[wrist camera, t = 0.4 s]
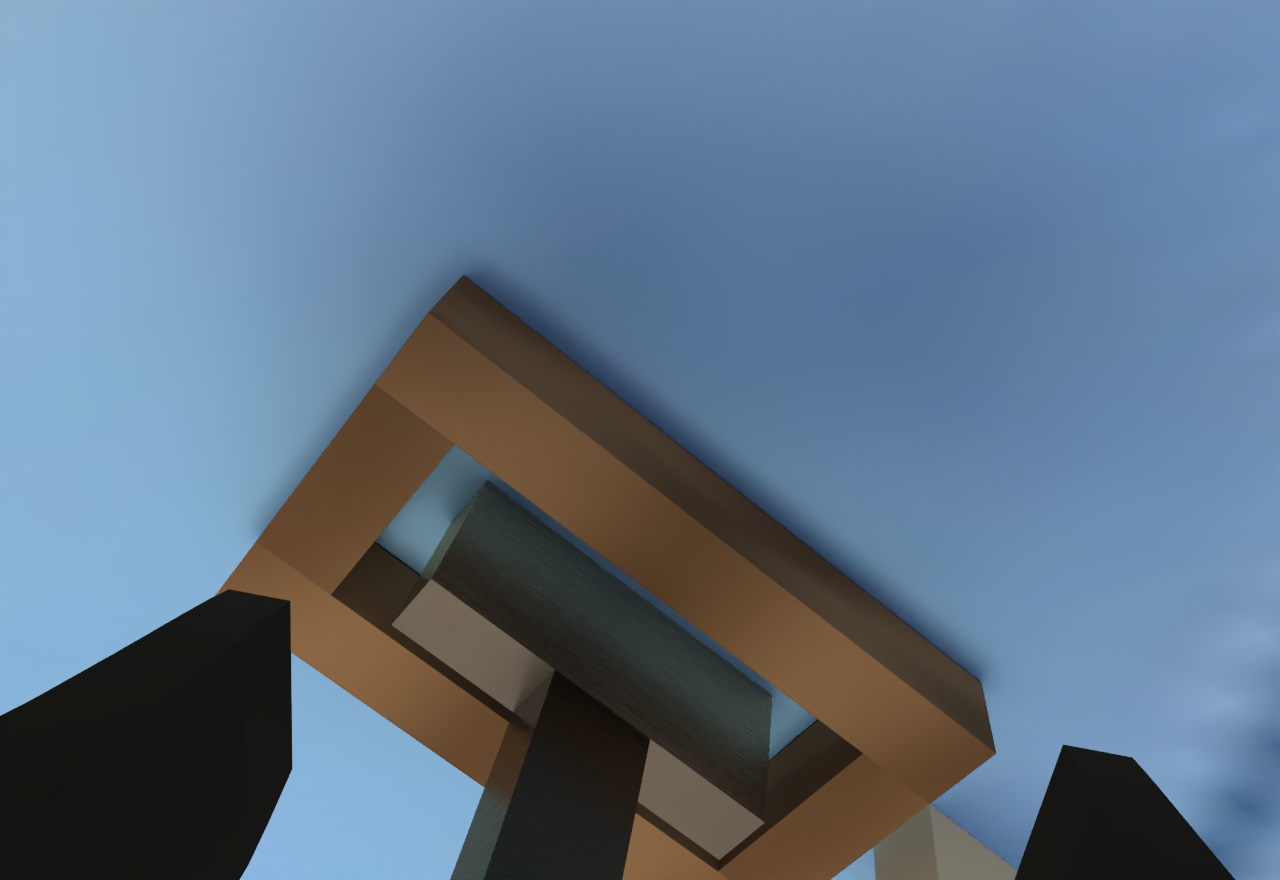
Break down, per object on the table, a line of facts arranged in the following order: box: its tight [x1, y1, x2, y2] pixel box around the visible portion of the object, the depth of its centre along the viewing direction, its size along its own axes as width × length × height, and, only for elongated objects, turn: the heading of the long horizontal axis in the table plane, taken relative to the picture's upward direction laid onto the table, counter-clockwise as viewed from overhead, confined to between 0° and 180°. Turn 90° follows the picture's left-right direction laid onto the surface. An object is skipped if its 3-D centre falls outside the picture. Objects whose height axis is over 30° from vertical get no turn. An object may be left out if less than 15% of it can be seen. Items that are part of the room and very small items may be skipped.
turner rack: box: [215, 275, 996, 880], centre depth 22 cm, size 12×7×2 cm, turn 52°
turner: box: [392, 481, 772, 880], centre depth 18 cm, size 7×1×10 cm, turn 52°
